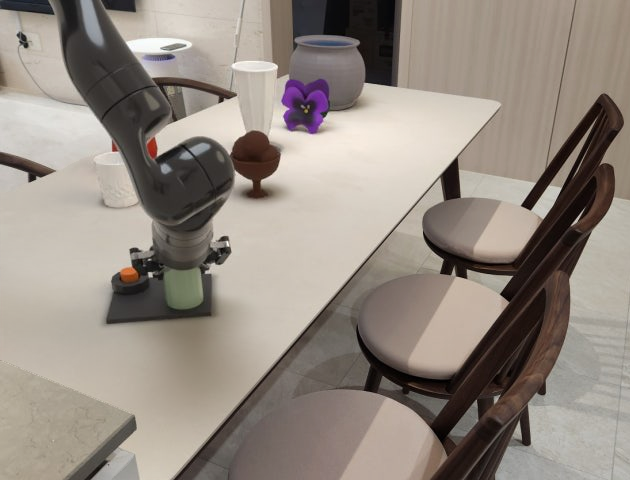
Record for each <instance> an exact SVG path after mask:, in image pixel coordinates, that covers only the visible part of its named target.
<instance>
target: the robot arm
mask: <svg viewBox="0 0 630 480" xmlns="http://www.w3.org/2000/svg"><path fill="white" fill-rule="evenodd" d="M47 1H48V2H49V4H50V6H51V8H52V11H53V13H54V17H55V21H56V26H57V31H58V39H59V45H60V52H61V58H62V63H63V66H64V68H65V71H66V74H67V76H68V78H69V80H70V82H71V84H72V86H73V87H74V89H75V91H76V92H77V94H78V96H80V98H81V100H82V101H83V102H84V103H85V105H86V106H87V107H88V109H89V110H90V112H91V113H92V114H93V116H94V117H95V118H96V119H97V121H98V122H99V124H100V125H101V126H102V127H103V129H104V130H105V132H106V133H107V135H108V136H109V137H110V139H111V142H112V141H113V142H114V144H115V146H116V148H117V150H118V152H119V154H120V156H121V158H122V160H123V162H124V164H125V167H126V169H127V172H128V174H129V177H130V180H131V183H132V186H133V188H134V191H135V194H136V196H137V199H138V203H139V205H140V207H141V209H142V210H143V211H144V213H145V214H146V215H147V216H148V217H149V218H150V219H151V220H152V221H151V239H152V245H151V246H150V247H149V249H148V250H144V249H139V247H134V246H133V247H131V248H129V249H128V251H129V257H130V263H131V267H133V268H134V269H135V270H136V272H137V273H138V274H139V275H140V276H146V275H149V273H151V274H152V277H153V278H158V281H159V280H163V272H169V271H170V270H171V269H174V270H181V271H183V270H190V269H193V268H196V267H198V268H201V274H206V272H208V271H209V270H210V268H212V264H214V265H215V266H221V265H223V264H225V262H226V261H227V259H228V258H229V257H230V255H231V254H232V251H233V250H232V247H231V242H230V238H229V237H230V236H228V235H223V236H220V237H219V239H215V241H212V240H213V239H214V223H213V222H214V218H215V216H217V214H218V213H219V212H220V211H221V210H222V208H223V207H224V206H225V203H227V201H228V200H229V199H230V197H231V195H232V193H233V190H234V188H235V183H236V171H235V170H234V165H233V162H232V159H231V157H230V154H229V151H227V149H226V148H225V147H224V145H222V144H221V143H220V142H218V141H217V140H215V139H213V138H211V137H208V136H203V135H196V136H191V137H189V138H187V139H184V140H183V141H181V142H179V143H178V144H176V145H174V146H173V147H170V149H167V150H166V151H164V152H163V153H161V154H159V155H157V157H156V158H153V159H152V157H151V156H150V154H149V152H148V150H147V144H148V143H149V142H150V140H151V139H152V138H153V137H154V136H155V137H156V136H157V135H158V134H159V133H160V132H161V131H163V130H164V128H165V127H166V126H167V125H168V124H169V122H170V121H171V119H172V116H173V108H172V105H171V104H170V102H169V101H168V98H166V96H165V95H164V93H163V92H162V91H161V89H160V88H159V86H158V85H157V83H155V81H154V80H153V78H152V77H151V76H150V74H149V72H148V71H147V70H146V68H145V67H144V66H143V64H142V63H141V62H140V60H139V59H138V58H137V55H135V53H134V52H133V51H132V49H131V48H130V47H129V45H128V43H127V42H126V40H125V39H124V37H123V36H122V35H121V33H120V32H119V30H118V28H117V27H116V25H115V24H114V22H113V20H112V18H111V16H110V15H109V13H108V11H107V9H106V7H105V6H104V3H103V2H102V0H47Z"/></svg>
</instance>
